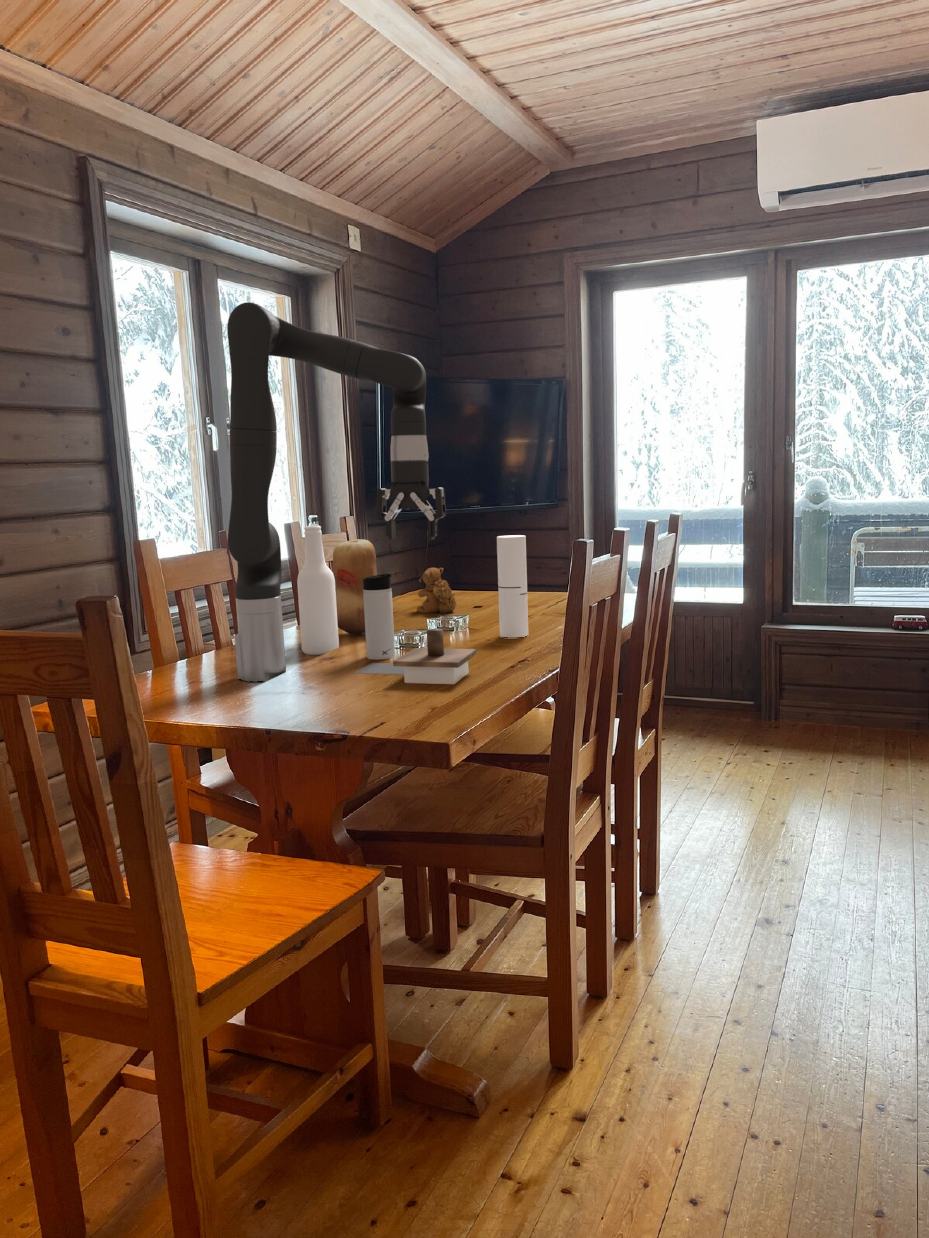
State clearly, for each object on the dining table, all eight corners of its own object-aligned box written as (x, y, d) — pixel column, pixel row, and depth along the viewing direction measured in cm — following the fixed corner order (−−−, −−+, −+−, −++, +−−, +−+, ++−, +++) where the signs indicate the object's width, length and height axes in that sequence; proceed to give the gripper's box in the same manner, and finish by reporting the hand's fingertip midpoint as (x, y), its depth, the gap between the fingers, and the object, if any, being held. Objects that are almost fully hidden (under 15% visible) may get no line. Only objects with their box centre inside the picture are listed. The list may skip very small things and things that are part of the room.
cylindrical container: (496, 634, 235) (492, 536, 231) (522, 632, 237) (519, 534, 233) (505, 639, 228) (502, 538, 224) (532, 636, 230) (529, 536, 226)
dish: (405, 690, 179) (403, 664, 178) (421, 678, 189) (420, 654, 188) (454, 691, 176) (453, 665, 176) (468, 679, 186) (467, 655, 185)
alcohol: (295, 652, 222) (286, 527, 217) (326, 646, 228) (318, 524, 223) (314, 656, 216) (306, 527, 211) (346, 651, 221) (338, 525, 217)
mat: (354, 680, 190) (354, 673, 189) (372, 669, 199) (372, 662, 199) (414, 681, 186) (414, 674, 186) (430, 671, 195) (429, 664, 195)
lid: (393, 666, 177) (391, 635, 176) (415, 652, 190) (414, 624, 189) (458, 667, 174) (457, 636, 173) (476, 654, 186) (475, 624, 185)
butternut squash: (323, 639, 239) (317, 542, 235) (349, 630, 251) (343, 537, 247) (370, 640, 234) (365, 541, 230) (395, 631, 246) (390, 537, 242)
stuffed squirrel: (439, 607, 287) (437, 565, 285) (466, 611, 276) (464, 568, 274) (412, 611, 281) (410, 568, 279) (439, 616, 270) (437, 571, 268)
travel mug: (392, 666, 202) (387, 574, 199) (363, 665, 203) (358, 575, 200) (400, 660, 208) (395, 571, 205) (372, 660, 209) (367, 572, 206)
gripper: (369, 459, 185) (372, 540, 187) (436, 458, 180) (438, 541, 183) (383, 459, 192) (386, 538, 194) (448, 458, 188) (450, 538, 190)
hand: (411, 539), depth 189 cm, fingers open, 8 cm apart
